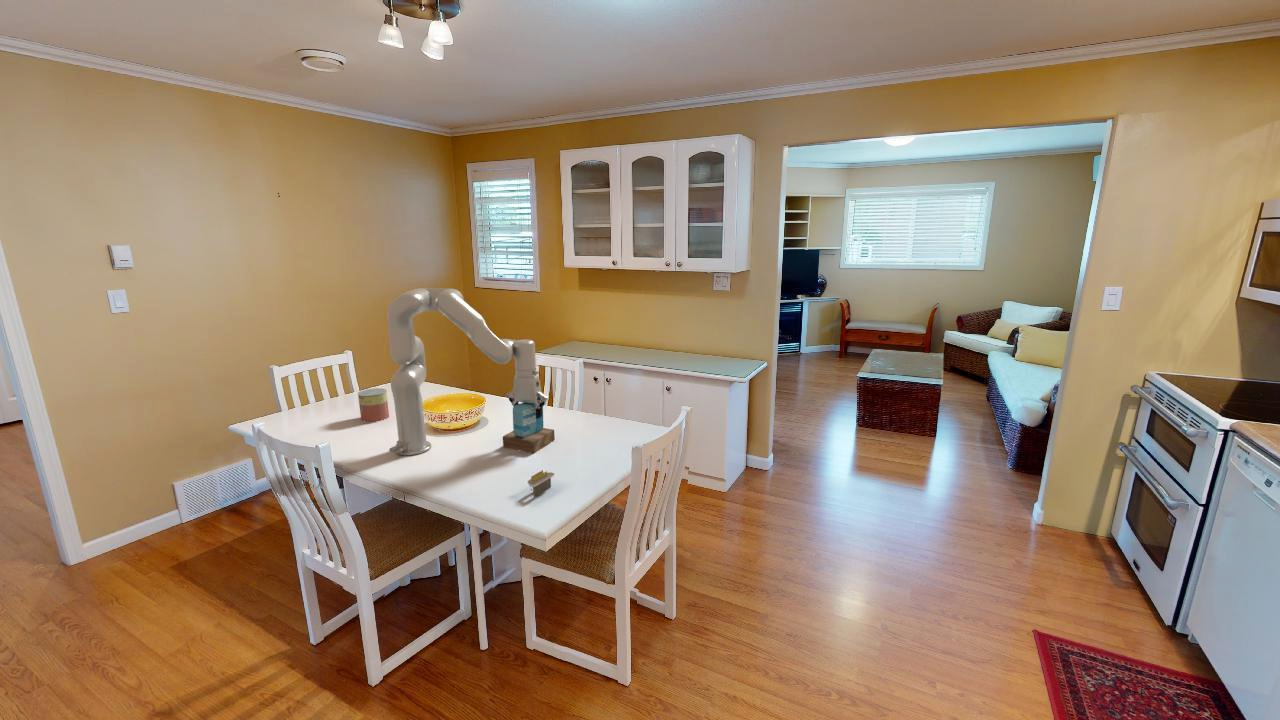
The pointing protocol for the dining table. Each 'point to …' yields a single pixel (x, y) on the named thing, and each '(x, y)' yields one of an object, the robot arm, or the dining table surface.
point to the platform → (540, 482)
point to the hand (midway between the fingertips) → (528, 416)
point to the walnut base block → (529, 441)
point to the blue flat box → (526, 420)
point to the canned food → (373, 405)
